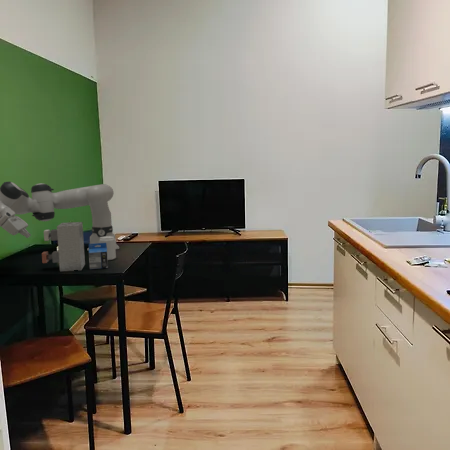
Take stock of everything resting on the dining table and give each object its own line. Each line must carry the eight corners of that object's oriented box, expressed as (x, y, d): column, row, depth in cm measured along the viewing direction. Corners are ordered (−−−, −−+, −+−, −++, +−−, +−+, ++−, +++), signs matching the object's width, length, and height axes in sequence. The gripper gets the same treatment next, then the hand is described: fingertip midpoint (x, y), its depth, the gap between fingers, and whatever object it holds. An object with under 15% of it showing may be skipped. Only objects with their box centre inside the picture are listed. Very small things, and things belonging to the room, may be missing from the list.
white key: (46, 239, 231) (45, 229, 230) (58, 238, 232) (57, 229, 231) (44, 240, 226) (43, 231, 226) (56, 240, 227) (55, 230, 227)
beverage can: (100, 261, 247) (98, 238, 246) (101, 258, 255) (99, 236, 254) (115, 260, 249) (114, 238, 247) (116, 257, 257) (115, 235, 255)
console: (56, 265, 238) (53, 223, 235) (85, 264, 240) (82, 221, 237) (51, 272, 224) (48, 226, 221) (81, 270, 227) (78, 225, 224)
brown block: (44, 261, 232) (43, 251, 232) (56, 260, 233) (55, 251, 233) (42, 263, 228) (41, 253, 227) (54, 262, 229) (53, 253, 228)
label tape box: (89, 269, 228) (87, 245, 226) (89, 267, 232) (88, 243, 230) (107, 268, 230) (106, 243, 228) (108, 266, 234) (106, 242, 232)
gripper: (8, 219, 235) (30, 237, 237) (-5, 225, 215) (19, 244, 217) (16, 210, 235) (38, 228, 238) (4, 215, 215) (28, 235, 218)
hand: (29, 236), depth 227 cm, fingers closed
